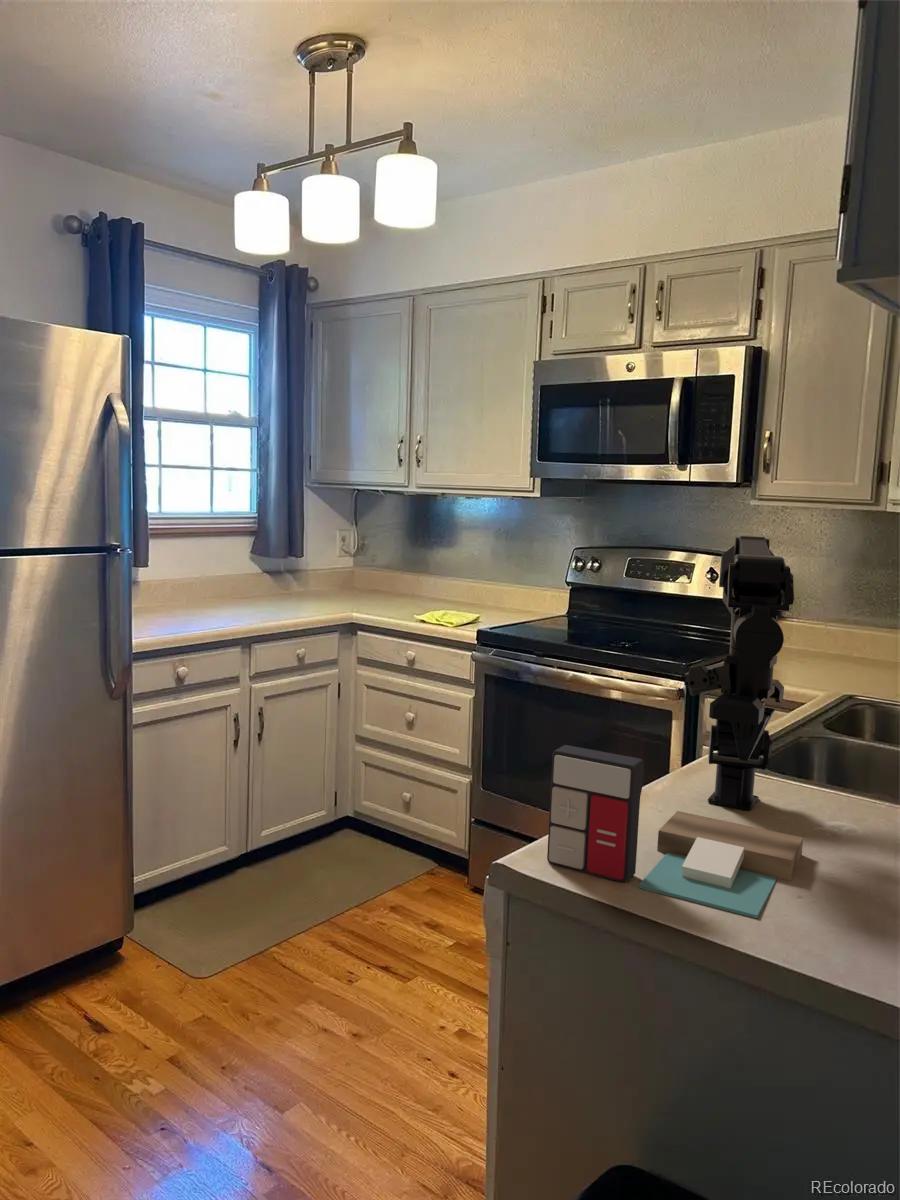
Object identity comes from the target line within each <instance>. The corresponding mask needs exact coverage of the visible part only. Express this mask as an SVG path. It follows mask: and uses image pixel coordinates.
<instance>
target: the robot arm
mask: <svg viewBox="0 0 900 1200" xmlns="http://www.w3.org/2000/svg"><path fill="white" fill-rule="evenodd" d="M718 578H719V580H718V581H719V582H718V587H719V588H722V602H723V603H724V605H725V607H726V608H727V610H728V611H729V614H730V615H731V617H730V618H731V622H730V636H729V637H730V639H729V653H728V654H727V655H726V656H724V658H723V662H720V663H716V664H712V665H707V666H706V665H705V664H703V663H700V664H697V665H692V666H690V667H689V668H688V669H689V670H688V671H687V672H686V673H684V678H685V679H684V680H685V681H684V682H683V684H684V686H685V687H686V688H688V690H689V693H690V696H699V695H700V694H701V693H705V692H711V691H715V690H720V693H721V695H719V696H718V697H716V698H715V699H714V700H713V701H711V702H710V703H709V714H708V718H710V719H713V720H715V724H711V726H710V732H709V733H710V734H709V741H708V756H707V757H708V759H707V760H708V764H709V765H716V769H715V770H716V772H715V783H714V784H715V785H714V791H713V793H711V795H710V796H708V798H707V802H708V803H711V804H715V805H720V806H725V807H730V808H735V809H739V810H744V811H752V809H753V808H754V807H755V805H756V804H757V803H758V801H759V800H758V799H759V798H760V797H759V796H758V795H754V791H755V789H754V788H755V777H756V769H759V770H762V771H766V769H767V768H770V762H771V754H772V750H773V749H772V748H773V739H772V738H771V737H770V734H769V733H770V732H769V730H767V729H766V727H767V726H768V724H769V722H770V720H771V718H772V717H773V714H774V713H775V712H776V711H775V710H776V709H775V708H771V707H765V701H764V700H765V699H767V700H768V699H769V698H771V699H774V700H775V703H779V704H780V703H781V702H782V701H783V700H784V692H785V686H784V685H783V684H782V683H781V682H780V680H779V679H774V677H773V676H774V666H775V665H777V661H778V654H779V653H780V652H781V650H782V648H783V646H784V642H785V641H784V639H785V637H784V632H783V629H782V627H781V626H780V624H779V622H778V615H777V611H781V612H789V611H790V606H793V605H794V600H795V590H794V587H795V585H794V575H793V573H792V572H791V567H790V565H786V561H785V558H783V557H782V556H779V555H777V556H776V555H775V554H774V553H773V552H772V551H771V550H770V539H769V538H766V537H765V536H751V535H750V536H748V535H746V536H745V535H740V536H738V537H737V536H736V537H735V538H734V545H733V546H732V547H730V548H729V549H728V550H726V551H725V552H724V553H722V554H721V560H720V567H719V576H718Z"/></svg>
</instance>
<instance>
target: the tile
mask: <svg viewBox="0 0 900 1200" xmlns="http://www.w3.org/2000/svg"><path fill="white" fill-rule="evenodd" d="M743 858H744V847H740V846H735V845H731V844H726V843H722V842H718V841H713V840H709V839H704V838H700V837H697V838H696V840H695V842H694V844H693V846H692V848H691V850H690V852H689V854H688V856H687V857H686V859H685V861H684V863H683V865H682V877H686V878H690V879H694V880H698V881H702V882H706V883H711V884H715V885H719V886H723V887H727V888H731V887H732V884H733V882H734V880H735V877H736V875H737V872H738V870H739V868H740V865H741V863H742V861H743Z"/></svg>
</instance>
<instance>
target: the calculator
mask: <svg viewBox="0 0 900 1200" xmlns="http://www.w3.org/2000/svg"><path fill="white" fill-rule="evenodd" d="M551 757H552V758H551V775H550V778H551V779H550V798H549V814H548V815H549V817H548V832H547V833H548V834H547V835H548V837H547V853H546V855H547V856H546V857H547V862H548V863H550V864H553V865H555V866H556V865H557V866H561V867H563V868H568V869H572V870H575V871H580V872H584V873H587V874H591V875H595V876H598V877H602V878H606V879H608V880H614V881H618V882H622V883H628V882H629V881H630V880H631V879H632V877H633V876H634V875H635V874H636V867H637V855H638V853H637V852H638V837H639V836H638V835H639V821H640V820H639V819H640V807H641V806H640V805H641V795H642V790H643V781H644V765H645V761H644V760H643V759H641V758H639V757H632V756H626V755H623V754H622V755H621V754H616V753H611V752H605V751H600V750H595V749H589V748H585V747H579V746H573V745H567V744H564V745H562V746H560V747H558V748H557V749H555V750H554V751H552V756H551Z"/></svg>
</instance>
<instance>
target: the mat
mask: <svg viewBox="0 0 900 1200" xmlns="http://www.w3.org/2000/svg"><path fill="white" fill-rule="evenodd" d="M685 859H686V856H681V855H677V854H673V853H669V852H667V853H666V854H664V856H663V857H662V858H661V859H660V860H659V861H658V863H657V864H656V865H654V867H653V868H652V869H651V870H650V871H649V873H648V874H647V875H646V876H645V877H644V878H643V879H642V881H641V882H640V883H639V884H638V889H641V890H645V891H649V892H654V893H658V894H661V895H666V896H669V897H672V898H675V899H679V900H684V901H687V902H692V903H696V904H699V905H703V906H706V907H711V908H715V909H718V910H723V911H727V912H730V913H733V914H738V915H741V916H745V917H749V918H753V919H758V918H759V916H760V914H761V912H762V911H763V908H764V906H765V904H766V902H767V901H768V898H769V896H770V894H771V892H772V891H773V888H774V886H775V884H776V882H777V879H778V878H775V877H770V876H766V875H762V874H758V873H753V872H749V871H745V870H741V869H739V870H738V872H737V875H736V877H735V880H734V882H733V884H732V887H731V888H727V887H723V886H719V885H715V884H711V883H706V882H702V881H698V880H694V879H690V878H686V877H682V865H683V863H684V861H685Z"/></svg>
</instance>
